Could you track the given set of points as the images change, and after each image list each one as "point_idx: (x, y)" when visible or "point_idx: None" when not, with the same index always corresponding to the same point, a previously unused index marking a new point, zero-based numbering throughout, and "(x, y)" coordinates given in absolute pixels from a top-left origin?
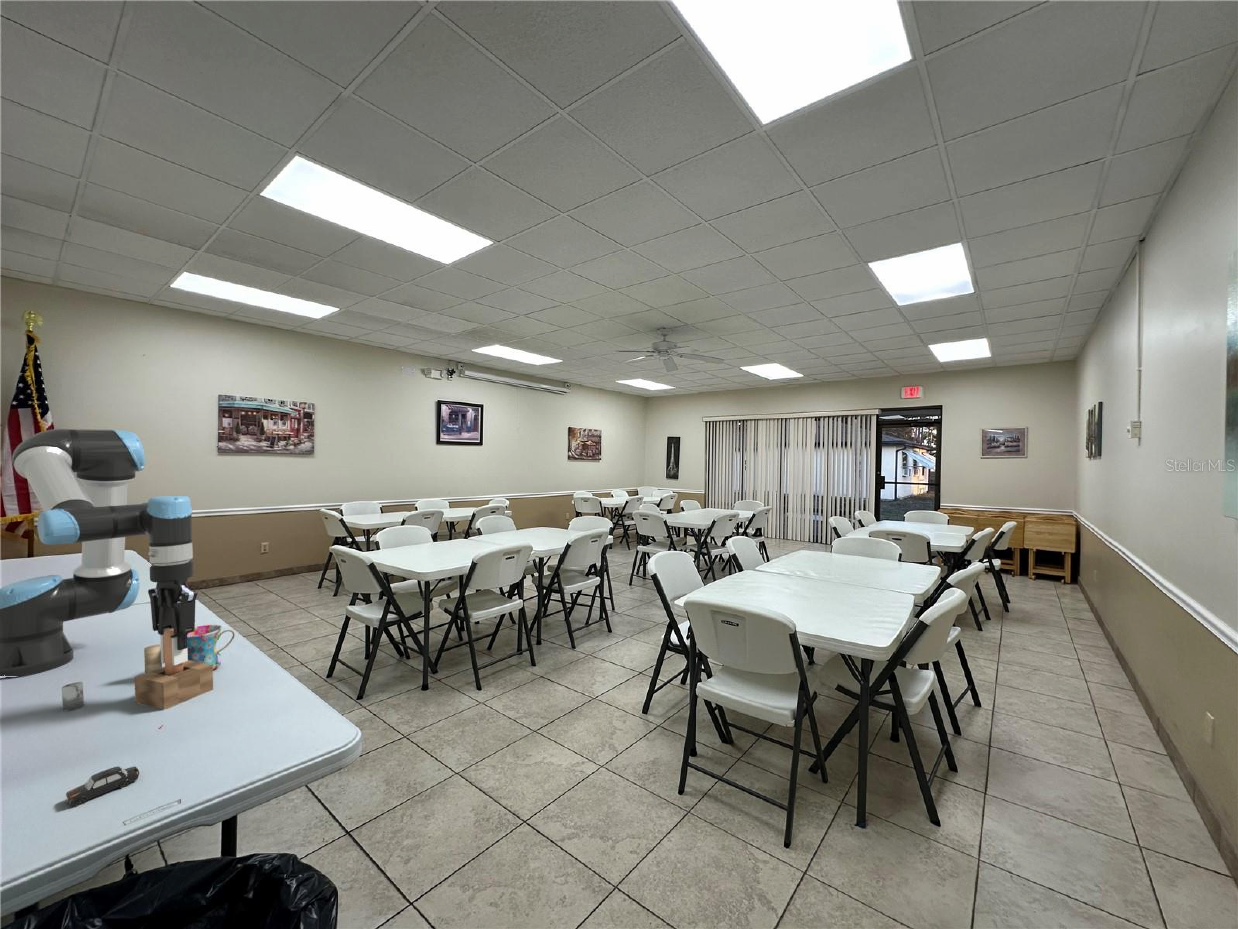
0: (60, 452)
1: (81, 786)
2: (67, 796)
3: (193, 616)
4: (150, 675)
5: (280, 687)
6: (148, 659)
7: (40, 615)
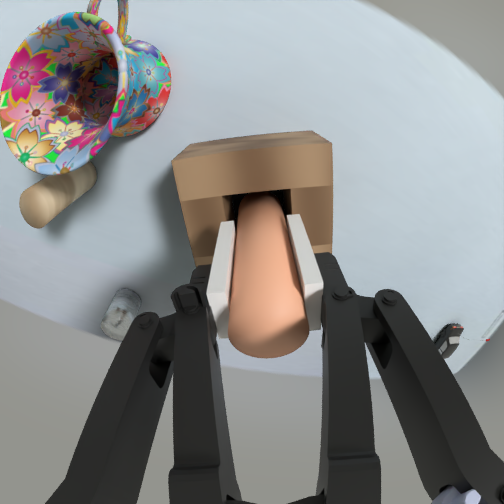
0: None
1: None
2: None
3: (438, 363)
4: None
5: (451, 79)
6: (62, 210)
7: None
